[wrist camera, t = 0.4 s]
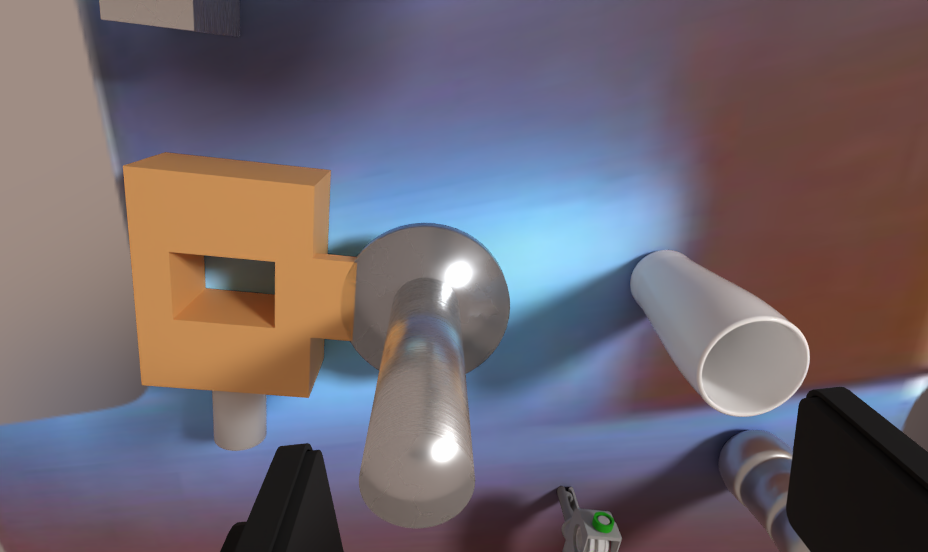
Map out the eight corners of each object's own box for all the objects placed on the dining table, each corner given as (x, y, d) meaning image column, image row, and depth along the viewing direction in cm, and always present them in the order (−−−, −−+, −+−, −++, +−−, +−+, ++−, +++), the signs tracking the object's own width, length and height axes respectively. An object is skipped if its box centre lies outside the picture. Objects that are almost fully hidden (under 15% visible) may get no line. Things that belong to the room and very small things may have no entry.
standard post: (356, 199, 44) (269, 340, 21) (511, 215, 45) (585, 367, 22) (348, 339, 48) (269, 583, 25) (490, 351, 49) (536, 597, 26)
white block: (162, -21, 38) (95, -42, 31) (239, -11, 39) (191, -29, 31) (165, 27, 39) (100, 19, 32) (240, 37, 40) (194, 30, 32)
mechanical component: (539, 531, 56) (559, 625, 46) (561, 444, 52) (588, 527, 43) (568, 534, 56) (594, 628, 47) (593, 447, 53) (626, 530, 43)
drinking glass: (605, 265, 47) (678, 351, 32) (682, 223, 46) (790, 294, 32) (639, 329, 49) (720, 437, 35) (712, 291, 48) (827, 386, 34)
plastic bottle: (705, 481, 55) (845, 699, 36) (714, 421, 52) (869, 620, 34) (772, 477, 55) (946, 692, 36) (784, 417, 52) (976, 613, 34)
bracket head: (165, 152, 42) (122, 165, 36) (370, 174, 43) (360, 190, 38) (180, 409, 49) (147, 453, 44) (355, 421, 51) (345, 466, 45)
